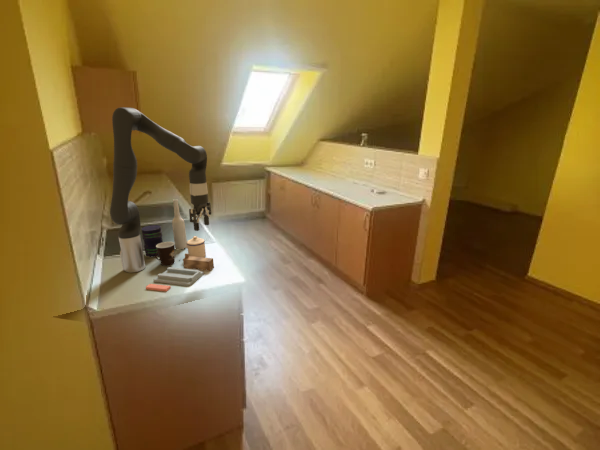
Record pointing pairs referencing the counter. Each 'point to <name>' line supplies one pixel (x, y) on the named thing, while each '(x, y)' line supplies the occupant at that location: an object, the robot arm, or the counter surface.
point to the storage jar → (151, 239)
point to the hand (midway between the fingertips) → (201, 227)
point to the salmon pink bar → (158, 287)
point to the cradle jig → (179, 276)
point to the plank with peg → (198, 263)
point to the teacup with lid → (196, 247)
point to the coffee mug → (166, 253)
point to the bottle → (178, 228)
